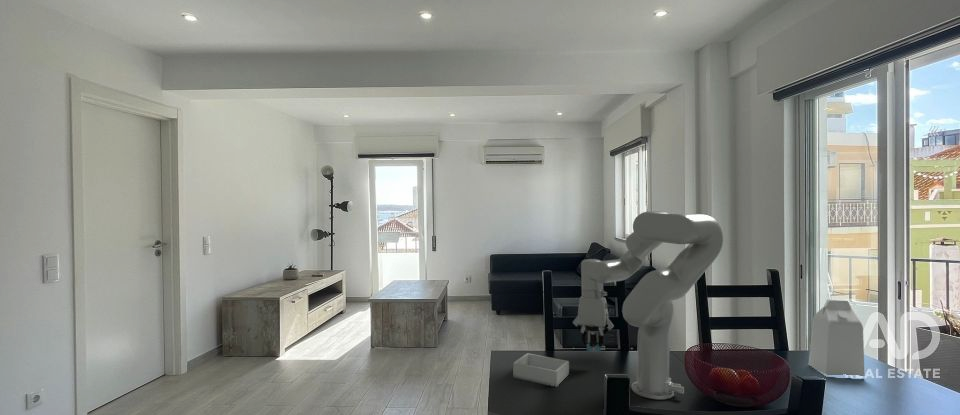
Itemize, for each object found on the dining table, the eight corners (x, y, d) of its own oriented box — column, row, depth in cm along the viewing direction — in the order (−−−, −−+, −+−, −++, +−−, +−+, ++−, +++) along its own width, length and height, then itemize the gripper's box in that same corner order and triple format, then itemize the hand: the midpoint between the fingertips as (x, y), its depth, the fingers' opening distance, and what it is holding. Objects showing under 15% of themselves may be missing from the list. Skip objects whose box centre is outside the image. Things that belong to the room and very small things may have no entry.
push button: (603, 348, 168) (603, 321, 169) (606, 353, 163) (605, 324, 163) (585, 348, 169) (584, 321, 169) (586, 352, 164) (586, 324, 164)
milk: (844, 368, 170) (846, 297, 170) (864, 380, 159) (867, 304, 158) (808, 365, 172) (810, 295, 172) (825, 377, 161) (827, 302, 161)
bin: (568, 375, 160) (569, 361, 160) (556, 387, 150) (556, 371, 150) (527, 366, 168) (527, 353, 168) (513, 377, 158) (513, 362, 158)
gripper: (619, 294, 166) (619, 345, 166) (572, 290, 174) (573, 339, 174) (613, 297, 159) (614, 350, 159) (566, 293, 168) (566, 344, 168)
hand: (593, 344), depth 167 cm, fingers closed on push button, 5 cm apart
